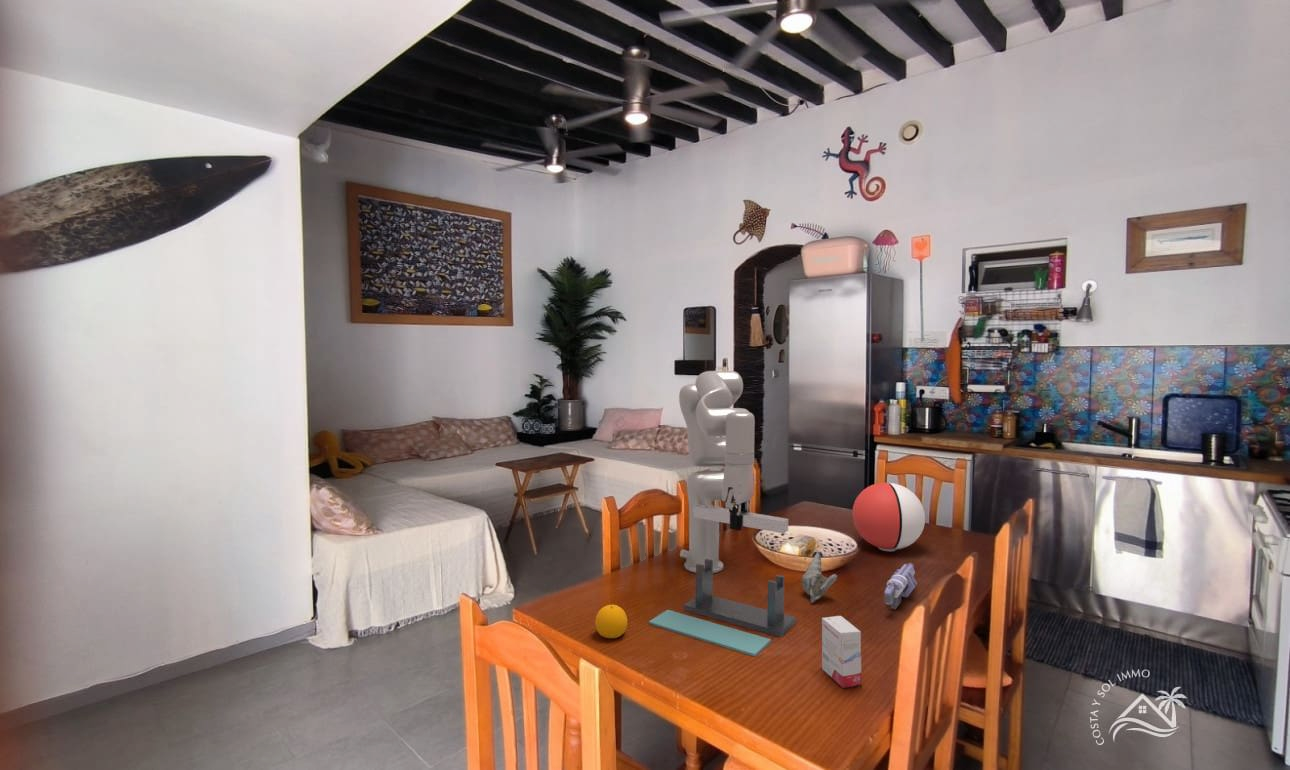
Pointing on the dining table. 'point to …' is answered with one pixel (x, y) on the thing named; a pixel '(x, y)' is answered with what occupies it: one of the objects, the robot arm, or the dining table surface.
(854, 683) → the ink box
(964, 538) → the dining table surface
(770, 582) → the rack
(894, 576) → the toy gun
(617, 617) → the yellow orange fruit
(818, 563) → the seashell
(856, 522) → the ball
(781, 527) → the rail
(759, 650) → the mat
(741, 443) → the robot arm
